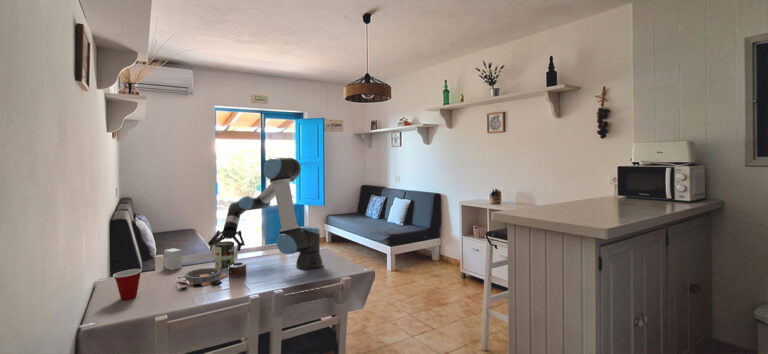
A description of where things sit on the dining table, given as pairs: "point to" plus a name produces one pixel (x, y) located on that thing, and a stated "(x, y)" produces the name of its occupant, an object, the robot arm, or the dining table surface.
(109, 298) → the dining table surface
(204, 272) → the collar plate
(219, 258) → the coffee can
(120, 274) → the plastic cup
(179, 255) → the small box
